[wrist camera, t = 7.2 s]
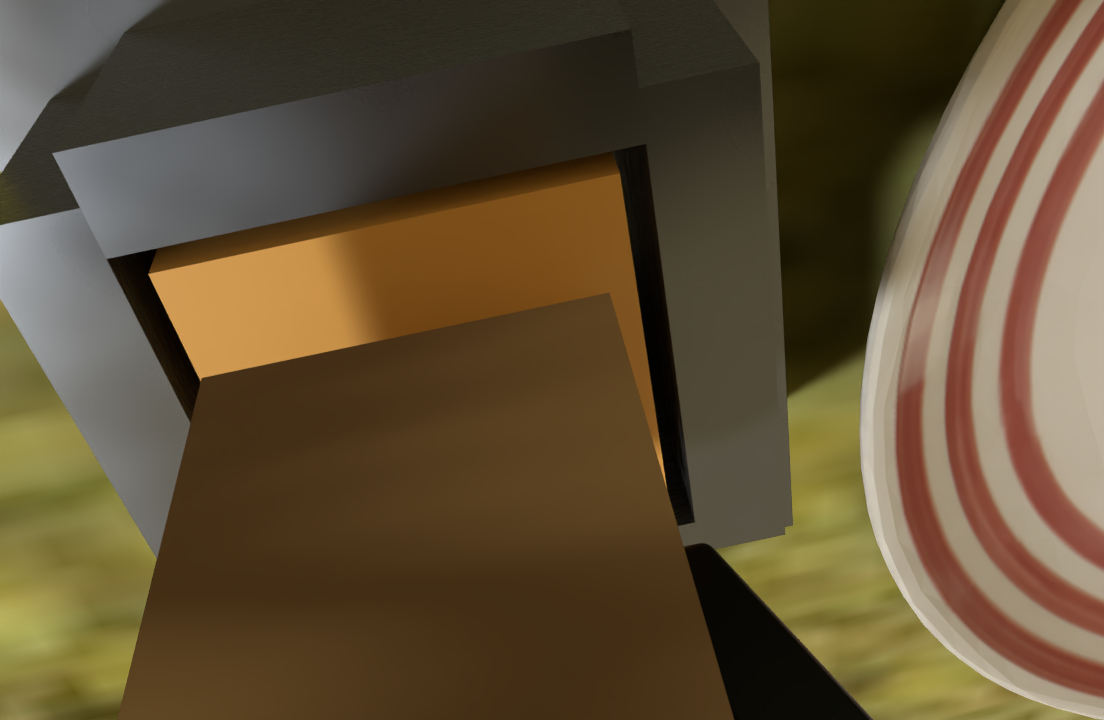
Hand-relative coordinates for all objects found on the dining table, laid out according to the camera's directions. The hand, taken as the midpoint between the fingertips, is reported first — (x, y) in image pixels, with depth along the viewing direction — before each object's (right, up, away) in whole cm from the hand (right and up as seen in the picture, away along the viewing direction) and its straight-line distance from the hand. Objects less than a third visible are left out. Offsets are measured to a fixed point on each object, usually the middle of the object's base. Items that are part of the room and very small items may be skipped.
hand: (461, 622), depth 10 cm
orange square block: (-1, +4, +5) cm, 7 cm away
